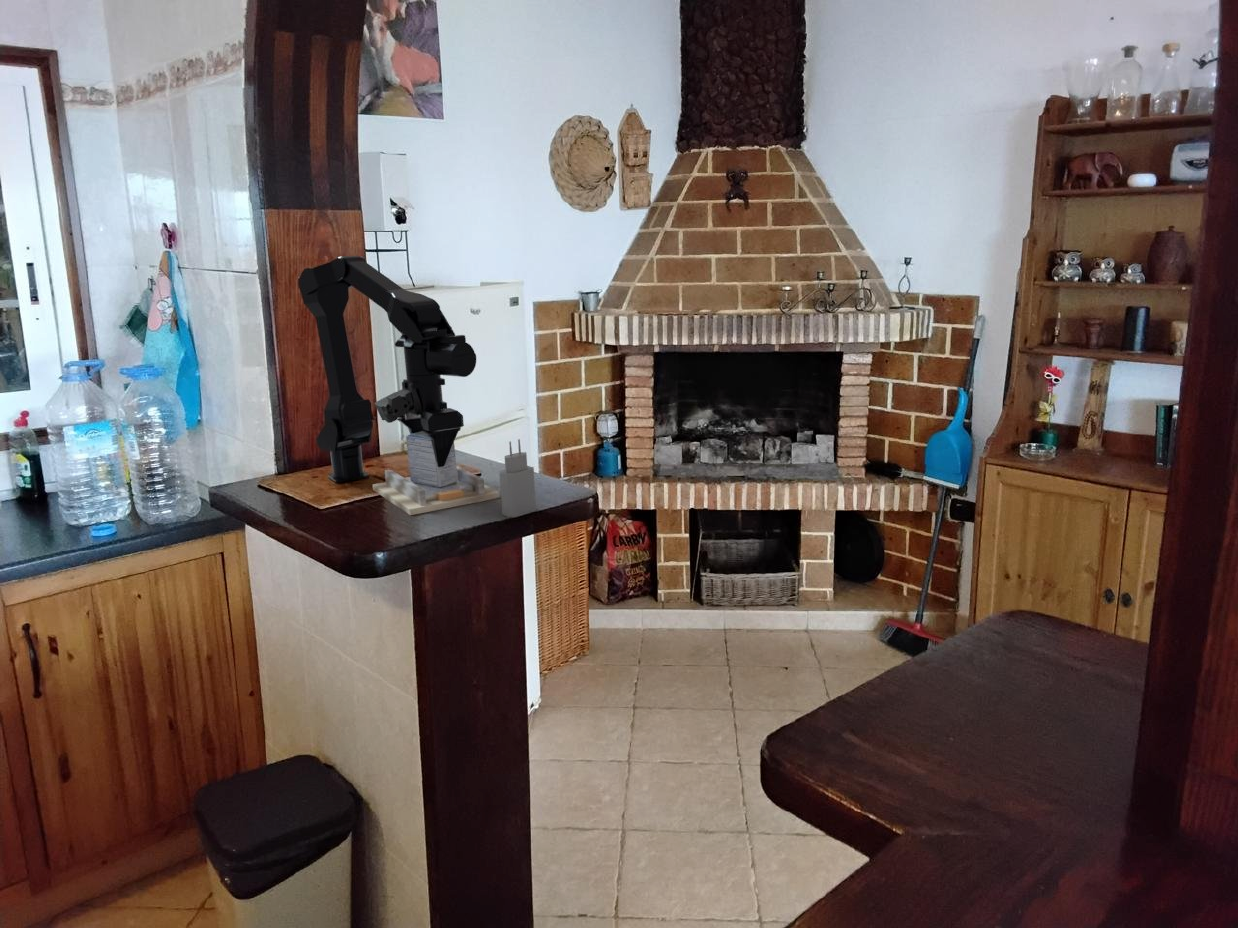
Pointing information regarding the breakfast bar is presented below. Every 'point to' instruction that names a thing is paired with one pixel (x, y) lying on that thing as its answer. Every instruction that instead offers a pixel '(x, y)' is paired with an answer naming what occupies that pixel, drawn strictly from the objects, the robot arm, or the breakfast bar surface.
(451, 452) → the medicine box
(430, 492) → the rail carriage
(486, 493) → the rail board
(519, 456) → the power adapter
